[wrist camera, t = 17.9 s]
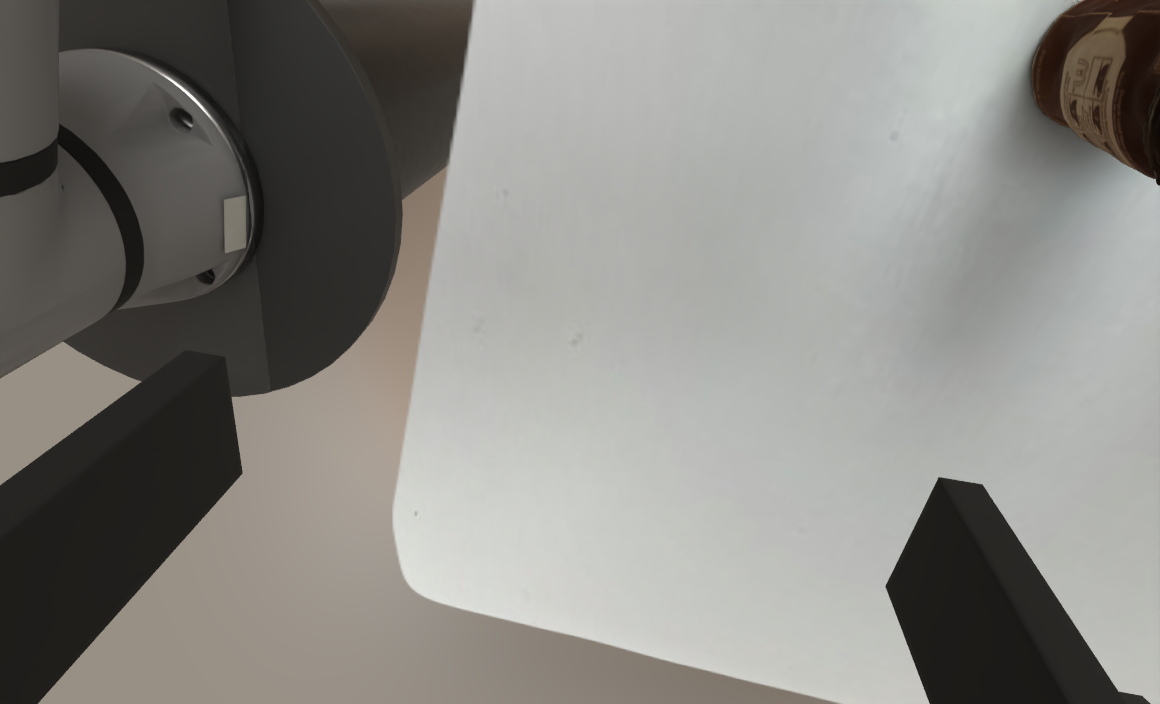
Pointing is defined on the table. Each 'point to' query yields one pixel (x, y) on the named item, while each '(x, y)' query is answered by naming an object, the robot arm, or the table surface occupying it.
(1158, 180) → the coffee cup
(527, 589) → the table surface
